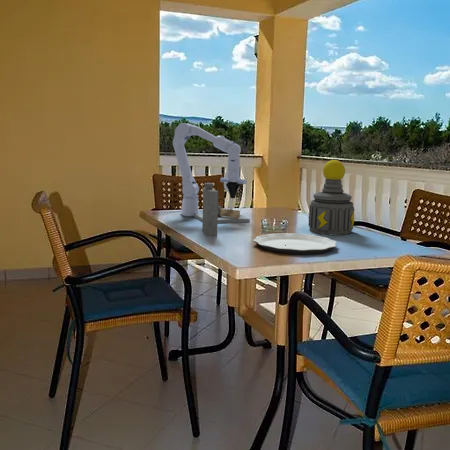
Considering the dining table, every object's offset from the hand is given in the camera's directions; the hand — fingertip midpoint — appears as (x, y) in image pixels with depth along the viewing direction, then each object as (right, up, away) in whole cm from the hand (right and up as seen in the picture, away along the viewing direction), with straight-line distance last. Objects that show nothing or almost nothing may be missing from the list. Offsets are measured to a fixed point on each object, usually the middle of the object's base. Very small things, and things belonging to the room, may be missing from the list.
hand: (232, 198), depth 247 cm
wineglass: (-1, -7, +15) cm, 17 cm away
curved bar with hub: (-5, -9, -6) cm, 12 cm away
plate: (+21, -21, -61) cm, 68 cm away
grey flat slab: (-6, -10, -4) cm, 12 cm away
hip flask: (-10, -16, -38) cm, 43 cm away
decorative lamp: (+41, -16, -28) cm, 52 cm away
